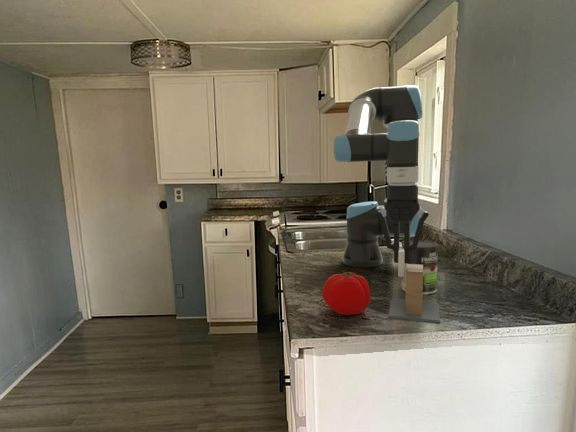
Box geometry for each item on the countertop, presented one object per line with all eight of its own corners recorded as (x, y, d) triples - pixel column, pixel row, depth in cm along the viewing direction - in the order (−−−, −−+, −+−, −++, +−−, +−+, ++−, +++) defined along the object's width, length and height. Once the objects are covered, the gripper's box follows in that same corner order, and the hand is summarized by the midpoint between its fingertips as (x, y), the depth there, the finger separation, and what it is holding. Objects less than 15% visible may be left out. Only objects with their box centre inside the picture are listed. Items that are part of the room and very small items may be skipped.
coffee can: (444, 290, 113) (446, 244, 111) (419, 297, 108) (420, 249, 106) (418, 281, 122) (419, 238, 120) (394, 287, 117) (394, 242, 115)
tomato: (371, 322, 92) (371, 281, 91) (321, 320, 94) (320, 279, 93) (369, 302, 105) (369, 265, 104) (324, 301, 107) (324, 265, 106)
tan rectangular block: (406, 303, 102) (407, 263, 101) (422, 304, 101) (423, 264, 99) (405, 313, 96) (405, 271, 94) (422, 314, 94) (422, 272, 93)
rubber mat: (392, 300, 106) (392, 298, 106) (438, 304, 102) (438, 302, 102) (388, 317, 95) (388, 315, 95) (439, 322, 91) (439, 320, 91)
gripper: (373, 185, 93) (374, 277, 97) (430, 184, 89) (428, 281, 92) (377, 183, 100) (377, 269, 104) (429, 182, 96) (428, 272, 99)
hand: (401, 275), depth 98 cm, fingers closed
